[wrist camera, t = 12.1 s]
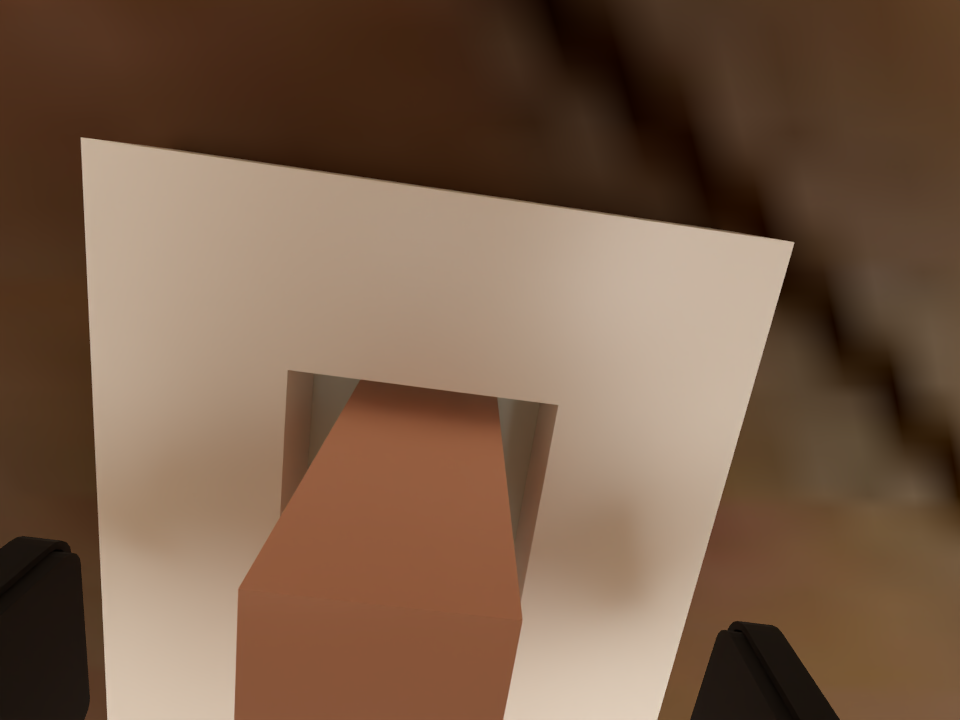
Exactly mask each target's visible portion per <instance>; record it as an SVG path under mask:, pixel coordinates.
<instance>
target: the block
mask: <svg viewBox="0 0 960 720" xmlns="http://www.w3.org/2000/svg"><path fill="white" fill-rule="evenodd" d="M522 621H523V619H522V610H521V602H520V593H519V584H518V575H517V567H516V558H515V549H514V540H513V532H512V523H511V514H510V505H509V497H508V488H507V479H506V471H505V462H504V453H503V444H502V436H501V427H500V418H499V409H498V401H497V397H492V396H484V395H477V394H469V393H461V392H454V391H446V390H438V389H431V388H423V387H415V386H407V385H400V384H392V383H384V382H377V381H369V380H361V379H360V381H359V383H358V385H357V386H356V388H355V390H354V391H353V393H352V395H351V397H350V398H349V400H348V402H347V403H346V405H345V407H344V409H343V410H342V412H341V414H340V415H339V417H338V419H337V420H336V422H335V424H334V426H333V427H332V429H331V431H330V432H329V434H328V436H327V438H326V439H325V441H324V443H323V444H322V446H321V448H320V450H319V451H318V453H317V455H316V456H315V458H314V460H313V462H312V463H311V465H310V467H309V468H308V470H307V472H306V474H305V475H304V477H303V479H302V480H301V482H300V484H299V486H298V487H297V489H296V491H295V492H294V494H293V496H292V497H291V499H290V501H289V503H288V504H287V506H286V508H285V509H284V511H283V513H282V515H281V516H280V518H279V520H278V521H277V523H276V525H275V527H274V528H273V530H272V532H271V533H270V535H269V537H268V539H267V540H266V542H265V544H264V545H263V547H262V549H261V551H260V552H259V554H258V556H257V557H256V559H255V561H254V563H253V564H252V566H251V568H250V569H249V571H248V573H247V575H246V576H245V578H244V580H243V581H242V583H241V585H240V586H239V588H238V609H237V641H236V673H235V706H234V720H503V719H504V714H505V709H506V703H507V698H508V693H509V688H510V683H511V678H512V673H513V667H514V662H515V657H516V652H517V647H518V642H519V637H520V631H521V626H522Z"/></svg>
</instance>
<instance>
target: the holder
mask: <svg viewBox="0 0 960 720" xmlns="http://www.w3.org/2000/svg"><path fill="white" fill-rule="evenodd" d="M81 154H82V176H83V198H84V219H85V241H86V263H87V284H88V306H89V328H90V350H91V371H92V393H93V415H94V436H95V458H96V480H97V501H98V523H99V545H100V566H101V588H102V610H103V631H104V653H105V675H106V696H107V718H108V720H234V706H235V673H236V641H237V609H238V588H239V586H240V585H241V583H242V581H243V580H244V578H245V576H246V575H247V573H248V571H249V569H250V568H251V566H252V564H253V563H254V561H255V559H256V557H257V556H258V554H259V552H260V551H261V549H262V547H263V545H264V544H265V542H266V540H267V539H268V537H269V535H270V533H271V532H272V530H273V528H274V527H275V525H276V523H277V521H278V520H279V518H280V516H281V515H282V513H283V511H284V509H285V508H286V506H287V504H288V503H289V501H290V499H291V497H292V496H293V494H294V492H295V491H296V489H297V487H298V486H299V484H300V482H301V480H302V479H303V477H304V475H305V474H306V472H307V470H308V468H309V467H310V465H311V463H312V462H313V460H314V458H315V456H316V455H317V453H318V451H319V450H320V448H321V446H322V444H323V443H324V441H325V439H326V438H327V436H328V434H329V432H330V431H331V429H332V427H333V426H334V424H335V422H336V420H337V419H338V417H339V415H340V414H341V412H342V410H343V409H344V407H345V405H346V403H347V402H348V400H349V398H350V397H351V395H352V393H353V391H354V390H355V388H356V386H357V385H358V383H359V381H360V379H361V380H369V381H377V382H384V383H392V384H400V385H407V386H415V387H423V388H431V389H438V390H446V391H454V392H461V393H469V394H477V395H484V396H492V397H497V401H498V409H499V418H500V427H501V436H502V444H503V453H504V462H505V471H506V479H507V488H508V497H509V505H510V514H511V523H512V532H513V540H514V549H515V558H516V567H517V575H518V584H519V593H520V602H521V610H522V619H523V621H522V626H521V631H520V637H519V642H518V647H517V652H516V657H515V662H514V667H513V673H512V678H511V683H510V688H509V693H508V698H507V703H506V709H505V714H504V719H503V720H657V718H658V715H659V711H660V708H661V704H662V701H663V697H664V694H665V691H666V687H667V684H668V680H669V677H670V673H671V670H672V666H673V663H674V659H675V656H676V652H677V649H678V645H679V642H680V638H681V635H682V631H683V628H684V624H685V621H686V618H687V614H688V611H689V607H690V604H691V600H692V597H693V593H694V590H695V586H696V583H697V579H698V576H699V572H700V569H701V565H702V562H703V558H704V555H705V552H706V548H707V545H708V541H709V538H710V534H711V531H712V527H713V524H714V520H715V517H716V513H717V510H718V506H719V503H720V499H721V496H722V492H723V489H724V485H725V482H726V479H727V475H728V472H729V468H730V465H731V461H732V458H733V454H734V451H735V447H736V444H737V440H738V437H739V433H740V430H741V426H742V423H743V419H744V416H745V413H746V409H747V406H748V402H749V399H750V395H751V392H752V388H753V385H754V381H755V378H756V374H757V371H758V367H759V364H760V360H761V357H762V353H763V350H764V346H765V343H766V340H767V336H768V333H769V329H770V326H771V322H772V319H773V315H774V312H775V308H776V305H777V301H778V298H779V294H780V291H781V287H782V284H783V280H784V277H785V273H786V270H787V267H788V263H789V260H790V256H791V253H792V249H793V246H794V242H790V241H784V240H778V239H772V238H767V237H761V236H755V235H749V234H743V233H738V232H732V231H726V230H720V229H713V228H706V227H699V226H693V225H686V224H679V223H672V222H665V221H659V220H652V219H645V218H638V217H631V216H625V215H618V214H611V213H604V212H597V211H591V210H584V209H577V208H570V207H564V206H557V205H550V204H543V203H536V202H530V201H523V200H516V199H509V198H502V197H496V196H489V195H482V194H475V193H468V192H462V191H455V190H448V189H441V188H435V187H428V186H421V185H414V184H407V183H401V182H394V181H387V180H380V179H373V178H367V177H360V176H353V175H346V174H339V173H333V172H326V171H319V170H312V169H306V168H299V167H292V166H285V165H278V164H272V163H265V162H258V161H251V160H244V159H238V158H231V157H224V156H217V155H210V154H204V153H197V152H190V151H183V150H177V149H169V148H161V147H154V146H146V145H138V144H130V143H122V142H114V141H106V140H98V139H90V138H82V137H81Z"/></svg>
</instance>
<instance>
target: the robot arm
mask: <svg viewBox="0 0 960 720" xmlns="http://www.w3.org/2000/svg"><path fill="white" fill-rule="evenodd" d="M89 701H90V695H89V680H88V666H87V651H86V636H85V622H84V607H83V592H82V578H81V563H80V558H79V557H78V555H77V554H74V553H71V549H70V546H69V545H68V544H67V543H66V542H64V541H59V540H50V539H42V538H34V537H25V536H22V537H17V538H15V539H13V540H12V541H10V542H9V543H7V544H6V545H5V546H3V547H2V548H1V549H0V720H84V719H85V717H86V714H87V711H88V707H89ZM690 720H840V719H839V718H838V716H837V715H836V713H835V712H834V710H833V709H832V707H831V706H830V704H829V703H828V701H827V700H826V698H825V697H824V695H823V694H822V692H821V691H820V689H819V688H818V686H817V685H816V683H815V682H814V680H813V679H812V677H811V676H810V674H809V673H808V671H807V670H806V668H805V667H804V665H803V664H802V662H801V661H800V659H799V658H798V656H797V655H796V653H795V652H794V650H793V649H792V647H791V646H790V644H789V643H788V641H787V640H786V638H785V637H784V635H783V634H782V632H781V631H780V630H779V629H778V628H777V627H775V626H773V625H765V624H757V623H749V622H740V621H736V622H733V623H732V624H731V625H730V626H729V628H728V630H721V631H720V632H719V633H718V635H717V638H716V641H715V644H714V647H713V650H712V653H711V656H710V660H709V663H708V666H707V669H706V672H705V675H704V678H703V682H702V685H701V688H700V691H699V694H698V697H697V700H696V704H695V707H694V710H693V713H692V716H691V719H690Z"/></svg>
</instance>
